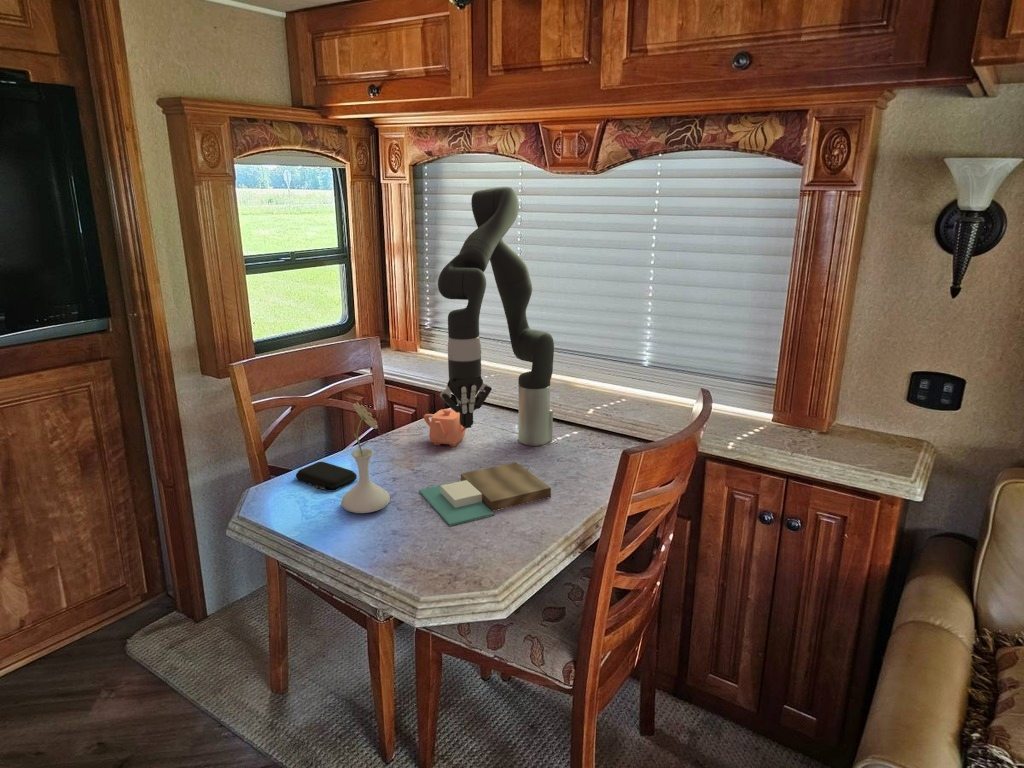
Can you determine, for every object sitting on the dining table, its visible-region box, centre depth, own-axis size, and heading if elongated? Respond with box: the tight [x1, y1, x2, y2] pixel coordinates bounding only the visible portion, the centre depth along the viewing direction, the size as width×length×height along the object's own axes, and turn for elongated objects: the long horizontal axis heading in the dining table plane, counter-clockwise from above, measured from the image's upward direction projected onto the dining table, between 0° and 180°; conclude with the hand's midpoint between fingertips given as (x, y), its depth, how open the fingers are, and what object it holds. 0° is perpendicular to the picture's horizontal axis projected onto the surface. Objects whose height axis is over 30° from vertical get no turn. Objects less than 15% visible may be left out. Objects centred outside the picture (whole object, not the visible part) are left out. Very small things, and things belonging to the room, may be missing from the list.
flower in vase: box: [340, 401, 391, 514], centre depth 159 cm, size 13×11×25 cm
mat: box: [418, 480, 495, 527], centre depth 163 cm, size 11×20×1 cm, turn 27°
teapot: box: [423, 408, 468, 448], centre depth 200 cm, size 14×12×10 cm
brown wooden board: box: [460, 461, 552, 512], centre depth 170 cm, size 16×18×2 cm
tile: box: [440, 480, 482, 508], centre depth 165 cm, size 7×9×2 cm
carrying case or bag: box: [295, 461, 358, 492], centre depth 175 cm, size 11×3×15 cm
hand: (466, 427), depth 160 cm, fingers closed
